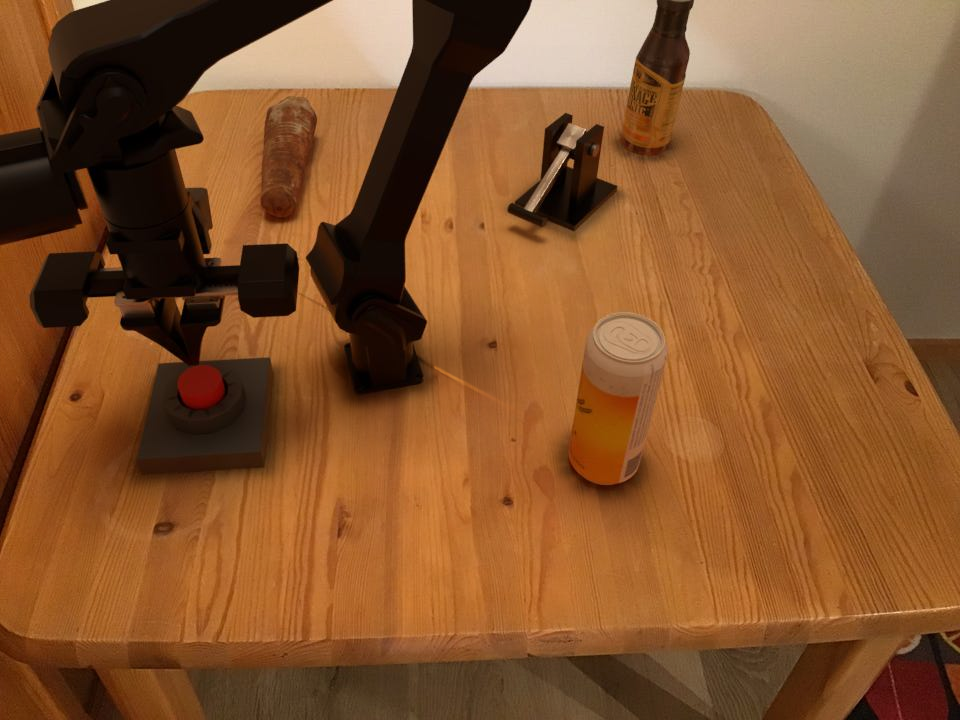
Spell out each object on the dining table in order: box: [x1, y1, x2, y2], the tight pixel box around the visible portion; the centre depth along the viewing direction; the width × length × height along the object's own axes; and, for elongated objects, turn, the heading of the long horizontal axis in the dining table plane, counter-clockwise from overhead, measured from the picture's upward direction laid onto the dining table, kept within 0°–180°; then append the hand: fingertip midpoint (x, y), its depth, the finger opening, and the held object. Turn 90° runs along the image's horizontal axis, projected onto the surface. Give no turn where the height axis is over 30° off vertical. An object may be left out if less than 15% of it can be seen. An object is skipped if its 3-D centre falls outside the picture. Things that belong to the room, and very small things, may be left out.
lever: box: [506, 123, 588, 228], centre depth 93 cm, size 12×4×2 cm, turn 145°
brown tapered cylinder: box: [260, 95, 318, 218], centre depth 100 cm, size 6×19×6 cm, turn 1°
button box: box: [136, 356, 274, 476], centre depth 74 cm, size 11×10×4 cm
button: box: [177, 365, 225, 410], centre depth 72 cm, size 4×4×2 cm
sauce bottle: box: [621, 0, 695, 156], centre depth 102 cm, size 7×6×20 cm
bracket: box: [514, 112, 618, 232], centre depth 96 cm, size 10×8×10 cm
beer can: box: [568, 311, 669, 486], centre depth 68 cm, size 6×6×15 cm
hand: (194, 361), depth 70 cm, fingers closed
